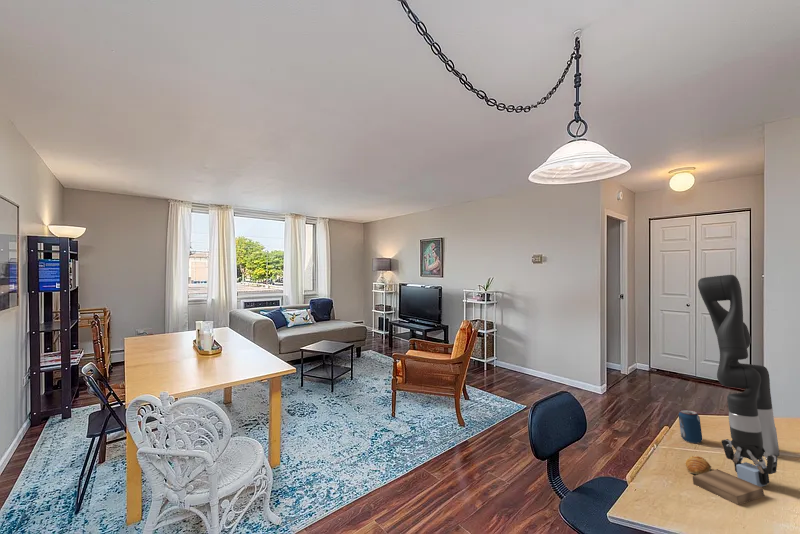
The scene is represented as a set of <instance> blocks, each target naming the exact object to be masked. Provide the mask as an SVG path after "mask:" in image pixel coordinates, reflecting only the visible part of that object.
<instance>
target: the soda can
mask: <svg viewBox="0 0 800 534" xmlns="http://www.w3.org/2000/svg"><path fill="white" fill-rule="evenodd" d="M700 418H701V417H700V416H699V414H698V412H697V411H695V410H692V409H685V408H683V409H680V410H679V413H678V420H679V421H678V422H679V430H680V437H681V438H682V439H683V441H684V442H686V443H691V444H701V443H702V441H703V434H702V433H703V432H702V427H701V426H702V424H701V419H700Z"/></svg>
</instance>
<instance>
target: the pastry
mask: <svg viewBox="0 0 800 534" xmlns="http://www.w3.org/2000/svg"><path fill="white" fill-rule="evenodd" d="M684 464H685V466H686V470H687V471H688V473H689V474H694V475H699V474H702V473H706V472H709V471H711V469H712V465H711V464H710V463H709V462H708V461H707V460H706V459H705V457H701V456H699V455H695V456H694V455H691V456H689V458H687V459H686V460H685V463H684Z"/></svg>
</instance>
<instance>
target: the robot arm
mask: <svg viewBox="0 0 800 534" xmlns="http://www.w3.org/2000/svg"><path fill="white" fill-rule="evenodd" d="M697 287H698V291H699V295H700V296H701V299H702V300H703V303H704V306H705V307H706V309H707V311H708V314H709V317H710V318H711V322H712V326H713V330H714V332H715V335H716V338H717V343H718V344H717V345H718V348H719V349H718V350H719V363H718V367H717V373H716V377H717V380H718V382H719V384H720V385H722V386H724V387H726V388H738V389H745V390H744V391H743V392H738V393H737V392H736V393H735V392H734V393H730V394H727V398H726V401H727V408H728V409H727V410H728V423H729V431H730V438H731V440H730V439H728V438H727V439H726V438H725V439H722V440H721V442H720V443H721V445H722V448H723V451H724V454H725V457H726V459H728V460H731V461H732V463H733V465H734V471H735V473H737V468H736V465H737V464H741V463H743V459H748V460H750V461H752V462H753V463H752V464H753V465H755V466H757V468H758V470H759V471H760V472H759V476H760V483H761V484H762V485H765V486H768V484H769V483H770V477H769V475H772V474H775V473H777V470H778V469H777V468H778V456H780V448H779V442H778V441H779V439H778V433H777V427H776V423H775V417H774V410H773V404H772V402H773V401H772V395H771V393H772V392H771V383H770V381H771V380H770V374H769V370H768V369H767V367H766V366H764V365H760V364H753V363H752V364H750V363H741V362H739V361H741V360H746V359H748V357H749V352H748V348H749V347H750V345H751V342H752V337H751V334H750V331H749V328H748V326H747V324H746V323H745V322H744V310H743V309H744V308H743V296H742V295H743V294H742V288H741V283H740V281H739V278H738V277H737V276H736V275H734V274H724V275H716V276H715V275H713V276H707V277H701V278H700V279H699V280H698V281H697ZM722 301H723V302H724V301H729V310H726V308H724V307H723V306H722V305H721V304H720V303H719V302H722ZM734 450H735V452H734ZM764 457H765V459H764ZM765 460H766V461H765Z"/></svg>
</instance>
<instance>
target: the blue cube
mask: <svg viewBox="0 0 800 534" xmlns="http://www.w3.org/2000/svg"><path fill="white" fill-rule="evenodd" d="M736 468H737V472H736V474H737V476H736V477H738V478H740V479H742V480H745V481H747V482H750V483H752V484H755V485H757V486H759V487H762V488H763V487H765V486H766V485H762V484H761V483H760V476H759V472H760V471H759V470H758V468H757V466H756V465H755V464H754V463H749V462H747V461H745V462H741V464H737V465H736Z"/></svg>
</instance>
